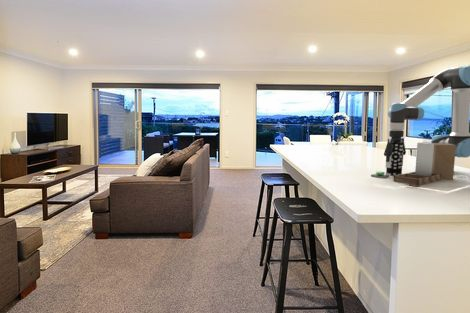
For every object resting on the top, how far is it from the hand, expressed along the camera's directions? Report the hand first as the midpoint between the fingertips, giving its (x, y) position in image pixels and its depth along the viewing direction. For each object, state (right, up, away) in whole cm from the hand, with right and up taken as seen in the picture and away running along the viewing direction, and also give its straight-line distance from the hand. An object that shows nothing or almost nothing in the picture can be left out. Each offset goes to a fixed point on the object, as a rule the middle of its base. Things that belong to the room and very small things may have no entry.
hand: (394, 166), depth 206 cm
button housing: (-11, -7, -6) cm, 14 cm away
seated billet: (+10, -7, -13) cm, 18 cm away
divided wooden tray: (+5, -8, -17) cm, 19 cm away
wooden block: (+22, -7, -7) cm, 25 cm away
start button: (-11, -6, -6) cm, 14 cm away
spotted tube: (0, -6, +1) cm, 6 cm away
